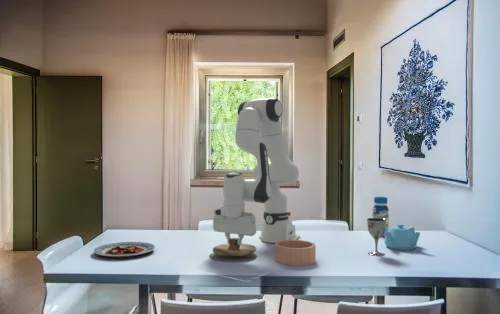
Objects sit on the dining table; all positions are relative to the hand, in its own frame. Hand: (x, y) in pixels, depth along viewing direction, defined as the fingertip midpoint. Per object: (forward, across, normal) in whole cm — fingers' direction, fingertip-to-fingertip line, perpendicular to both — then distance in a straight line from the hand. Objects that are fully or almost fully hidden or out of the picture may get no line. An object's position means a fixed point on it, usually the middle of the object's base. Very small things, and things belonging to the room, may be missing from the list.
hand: (234, 244), depth 174 cm
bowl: (+6, -24, -9) cm, 26 cm away
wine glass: (+6, -48, -38) cm, 62 cm away
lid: (+3, 0, 0) cm, 3 cm away
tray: (+5, 0, +1) cm, 5 cm away
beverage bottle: (+7, -37, -81) cm, 90 cm away
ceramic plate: (+5, +44, +21) cm, 49 cm away
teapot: (+7, -53, -57) cm, 78 cm away
